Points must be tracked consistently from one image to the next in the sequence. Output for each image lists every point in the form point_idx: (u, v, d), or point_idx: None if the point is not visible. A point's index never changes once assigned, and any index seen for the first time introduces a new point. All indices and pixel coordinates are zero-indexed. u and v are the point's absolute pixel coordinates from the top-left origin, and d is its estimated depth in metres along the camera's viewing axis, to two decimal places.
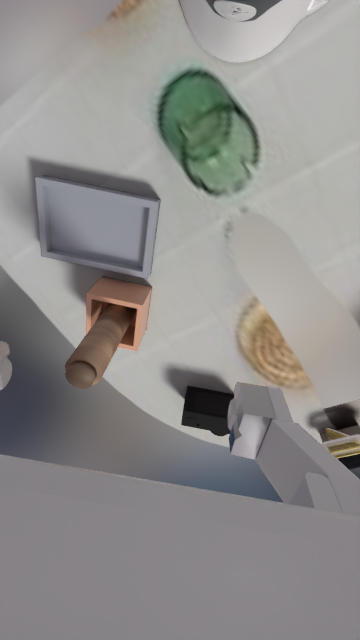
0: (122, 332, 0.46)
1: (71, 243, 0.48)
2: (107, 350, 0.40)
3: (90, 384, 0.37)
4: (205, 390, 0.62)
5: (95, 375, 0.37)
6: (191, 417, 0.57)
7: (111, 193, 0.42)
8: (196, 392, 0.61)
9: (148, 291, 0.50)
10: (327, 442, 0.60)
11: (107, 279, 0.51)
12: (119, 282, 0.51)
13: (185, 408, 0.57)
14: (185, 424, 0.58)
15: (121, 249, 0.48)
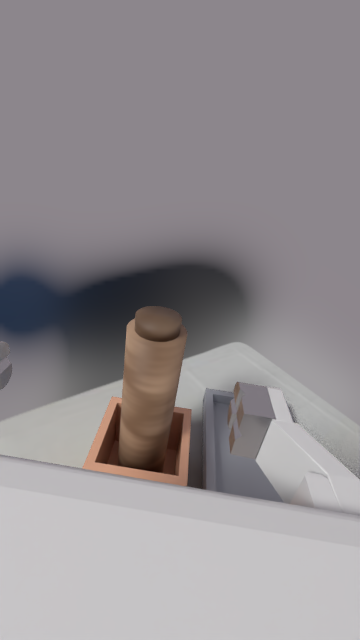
0: (148, 436, 0.26)
1: (223, 421, 0.40)
2: (166, 381, 0.23)
3: (146, 323, 0.22)
4: None
5: (157, 336, 0.22)
6: None
7: None
8: None
9: None
10: None
11: None
12: None
13: None
14: None
15: (234, 480, 0.33)
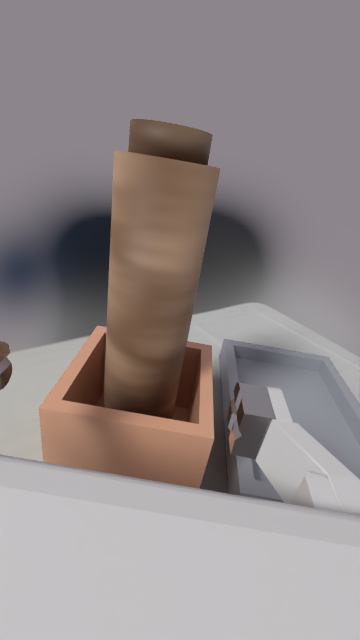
0: (149, 358, 0.16)
1: (249, 378, 0.30)
2: (183, 247, 0.13)
3: None
4: None
5: (170, 145, 0.12)
6: None
7: None
8: None
9: None
10: None
11: None
12: None
13: None
14: None
15: None
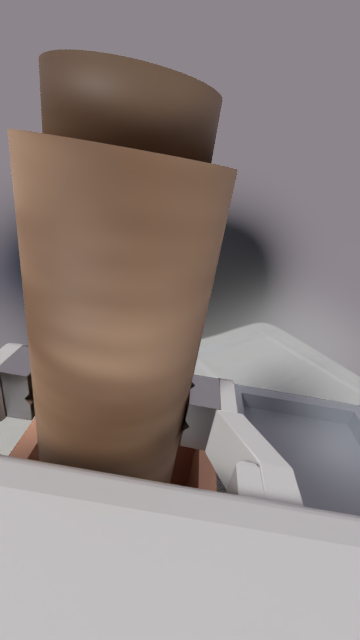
0: None
1: None
2: (162, 334, 0.06)
3: None
4: None
5: (122, 115, 0.05)
6: None
7: None
8: None
9: None
10: None
11: None
12: None
13: None
14: None
15: None
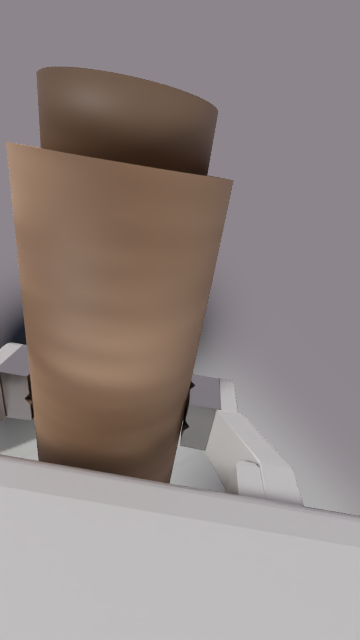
0: None
1: None
2: (159, 343, 0.06)
3: None
4: None
5: (118, 130, 0.05)
6: None
7: None
8: None
9: None
10: None
11: None
12: None
13: None
14: None
15: None
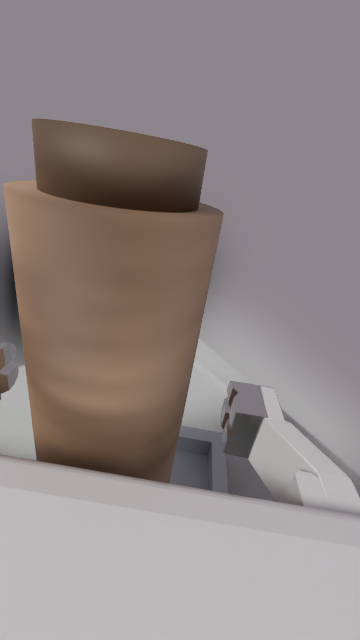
0: None
1: None
2: (153, 372, 0.07)
3: None
4: None
5: (110, 178, 0.05)
6: None
7: None
8: None
9: None
10: None
11: None
12: None
13: None
14: None
15: None
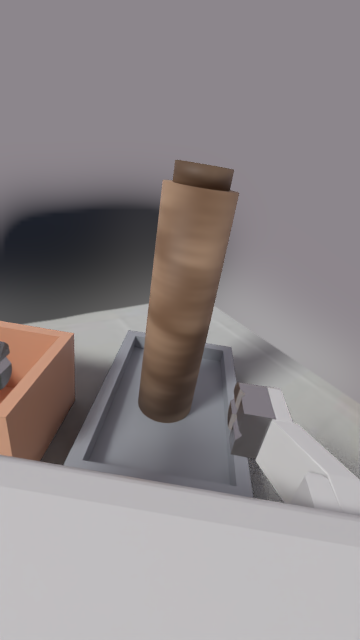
0: (183, 334, 0.21)
1: None
2: (212, 250, 0.18)
3: (191, 162, 0.17)
4: None
5: (205, 179, 0.17)
6: None
7: None
8: None
9: None
10: None
11: (69, 403, 0.25)
12: (57, 420, 0.23)
13: None
14: None
15: (132, 432, 0.23)
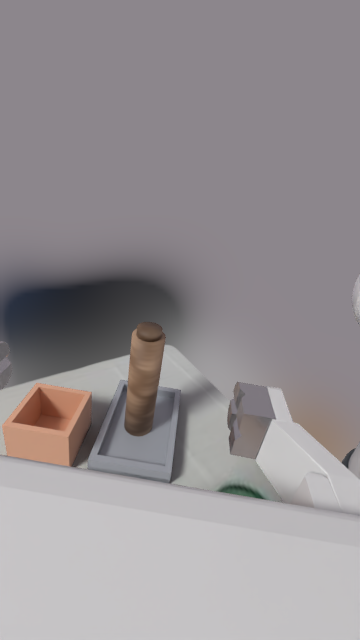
0: (143, 396, 0.45)
1: None
2: (153, 363, 0.42)
3: (142, 332, 0.41)
4: None
5: (148, 339, 0.41)
6: None
7: (174, 435, 0.48)
8: None
9: (69, 460, 0.42)
10: None
11: (88, 425, 0.49)
12: (83, 435, 0.47)
13: None
14: None
15: (120, 441, 0.47)
